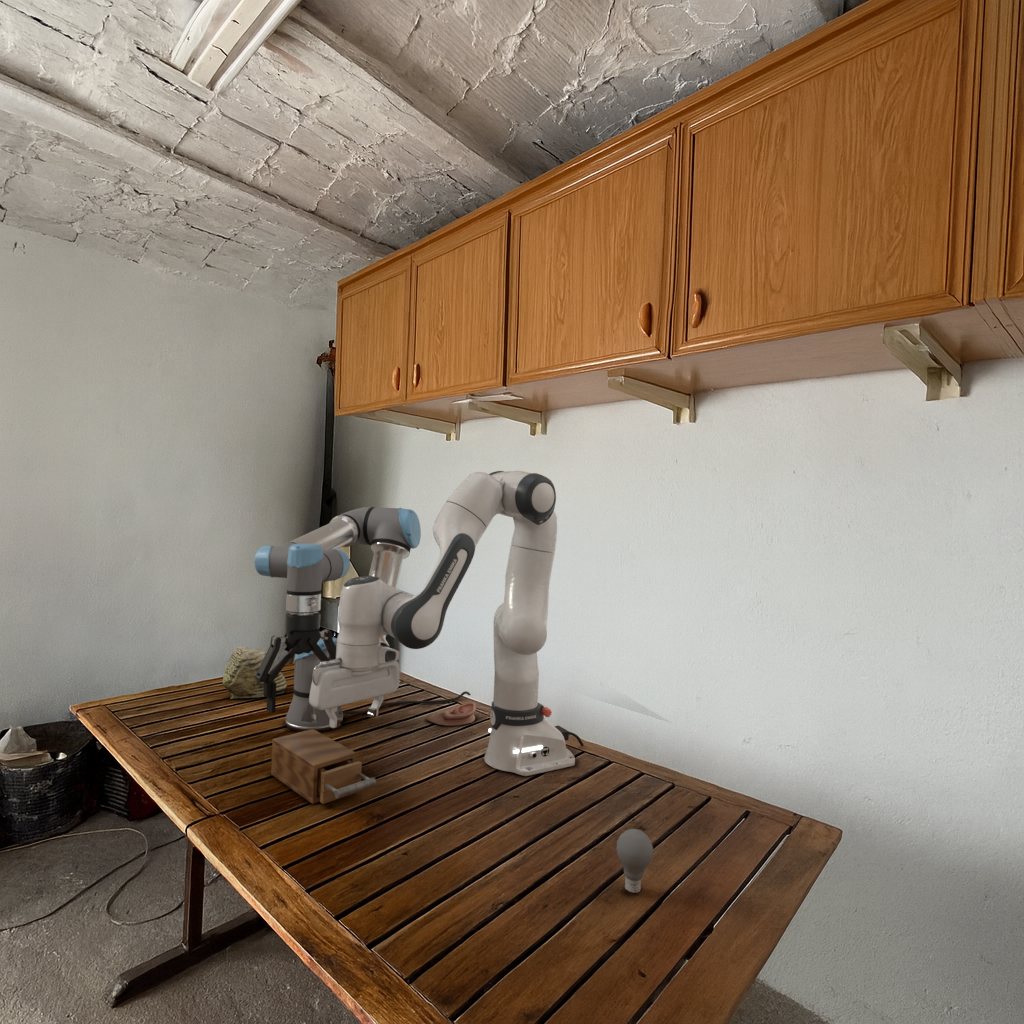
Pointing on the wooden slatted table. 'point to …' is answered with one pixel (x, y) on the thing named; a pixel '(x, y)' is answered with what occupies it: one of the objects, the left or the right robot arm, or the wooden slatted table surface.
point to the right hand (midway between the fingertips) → (354, 721)
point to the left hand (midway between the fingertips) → (299, 705)
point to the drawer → (341, 780)
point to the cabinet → (305, 760)
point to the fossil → (247, 674)
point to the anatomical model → (455, 715)
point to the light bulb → (634, 857)
